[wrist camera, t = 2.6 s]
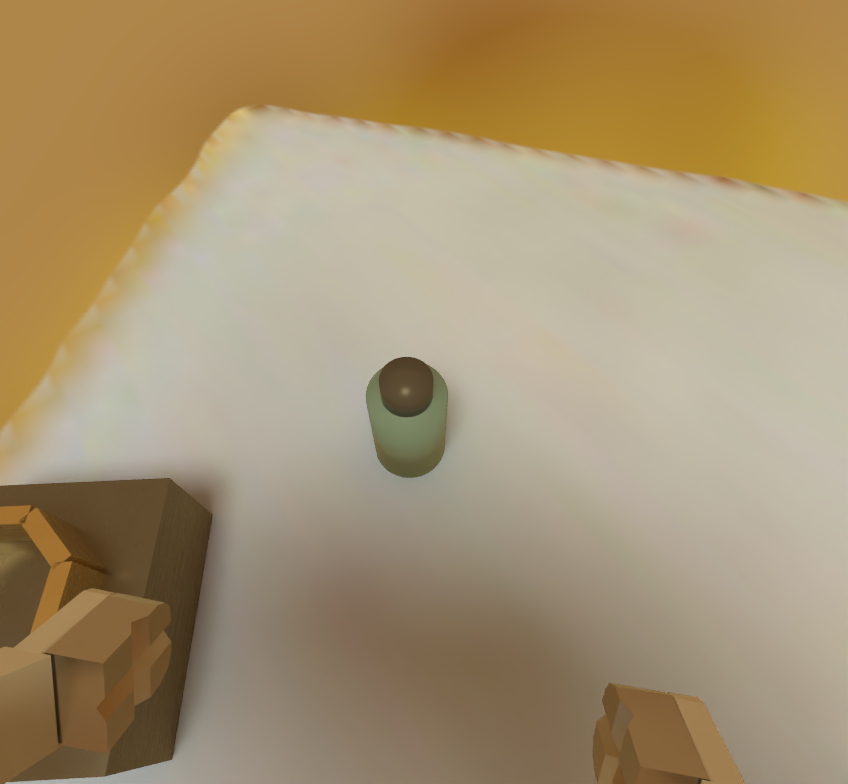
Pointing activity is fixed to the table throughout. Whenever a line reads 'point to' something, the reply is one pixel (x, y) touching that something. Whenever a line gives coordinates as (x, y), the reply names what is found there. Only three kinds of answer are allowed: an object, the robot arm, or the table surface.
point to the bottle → (408, 416)
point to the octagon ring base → (105, 588)
